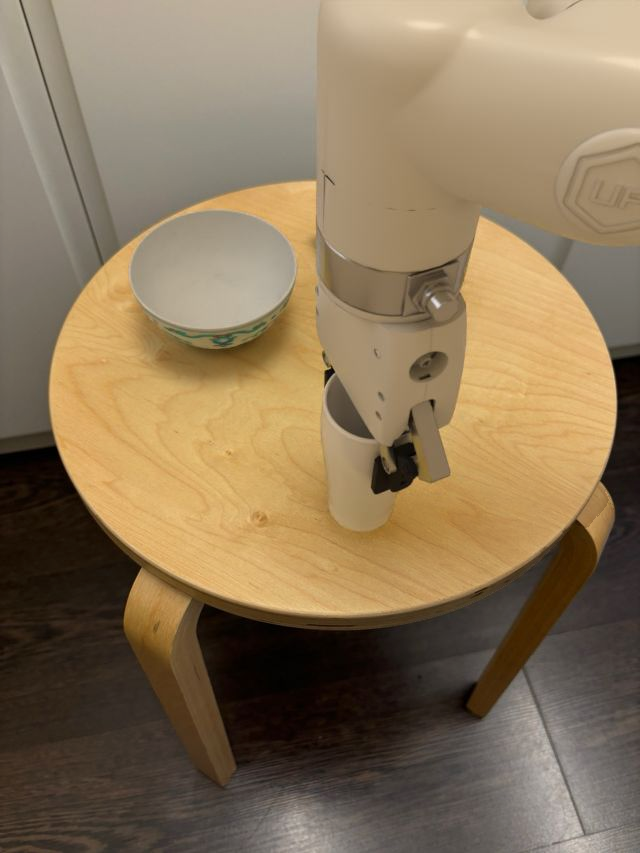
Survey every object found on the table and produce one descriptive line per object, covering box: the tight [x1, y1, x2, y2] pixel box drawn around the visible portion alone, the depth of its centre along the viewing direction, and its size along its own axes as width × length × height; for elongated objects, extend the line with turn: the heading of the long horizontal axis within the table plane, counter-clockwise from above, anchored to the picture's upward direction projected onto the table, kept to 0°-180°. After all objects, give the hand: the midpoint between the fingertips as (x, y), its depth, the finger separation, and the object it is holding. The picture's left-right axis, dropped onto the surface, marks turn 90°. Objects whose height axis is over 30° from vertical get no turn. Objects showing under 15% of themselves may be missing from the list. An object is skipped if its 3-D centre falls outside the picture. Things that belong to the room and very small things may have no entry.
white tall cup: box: [319, 372, 412, 533], centre depth 51 cm, size 7×7×15 cm
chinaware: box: [127, 208, 298, 350], centre depth 66 cm, size 15×15×8 cm
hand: (368, 439), depth 49 cm, fingers closed on white tall cup, 6 cm apart
